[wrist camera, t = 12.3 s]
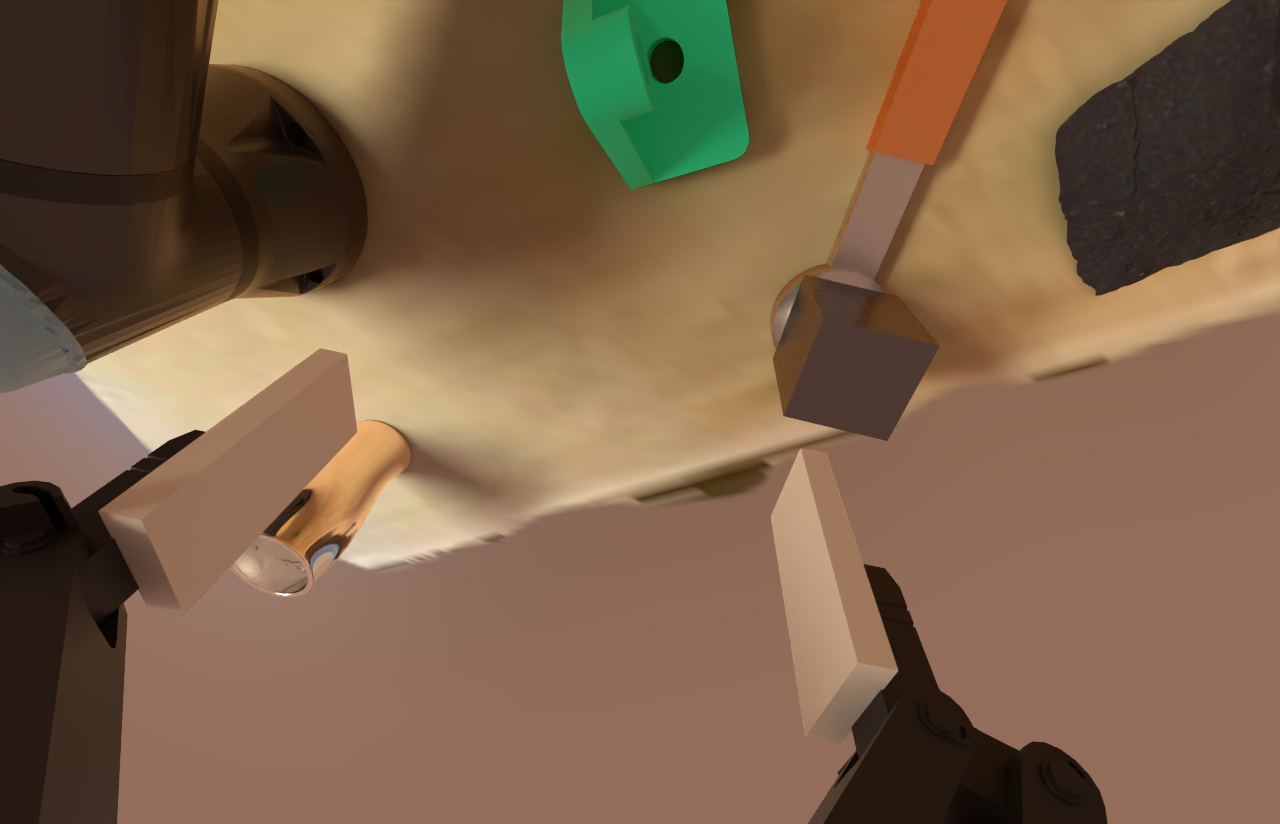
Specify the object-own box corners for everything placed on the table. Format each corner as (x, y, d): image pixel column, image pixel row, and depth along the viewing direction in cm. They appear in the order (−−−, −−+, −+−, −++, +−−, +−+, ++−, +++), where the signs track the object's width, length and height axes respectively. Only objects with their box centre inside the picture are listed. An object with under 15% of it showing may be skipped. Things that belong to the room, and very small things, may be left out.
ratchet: (858, 378, 41) (881, 427, 35) (756, 354, 41) (762, 399, 35) (1042, -12, 28) (1127, -38, 22) (895, -46, 29) (940, -80, 23)
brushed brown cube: (772, 358, 39) (783, 415, 32) (804, 274, 36) (823, 318, 29) (858, 379, 39) (887, 440, 32) (898, 296, 36) (939, 345, 29)
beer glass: (420, 480, 53) (324, 606, 40) (353, 470, 53) (236, 591, 40) (410, 421, 49) (300, 538, 36) (337, 410, 49) (204, 523, 37)
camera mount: (750, 149, 34) (759, 171, 26) (636, 183, 36) (609, 214, 27) (709, -90, 29) (702, -168, 20) (577, -35, 31) (519, -84, 22)
